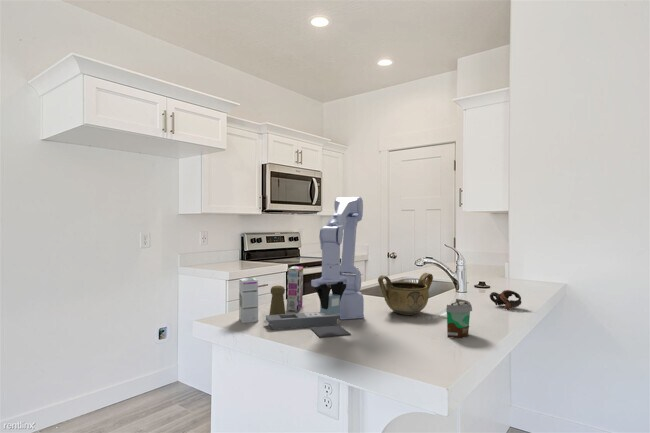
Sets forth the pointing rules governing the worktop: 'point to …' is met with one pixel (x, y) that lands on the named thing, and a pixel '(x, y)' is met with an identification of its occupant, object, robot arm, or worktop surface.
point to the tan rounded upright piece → (277, 300)
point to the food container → (458, 318)
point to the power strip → (301, 320)
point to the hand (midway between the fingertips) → (330, 307)
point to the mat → (330, 331)
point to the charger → (332, 305)
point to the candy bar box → (294, 288)
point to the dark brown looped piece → (506, 299)
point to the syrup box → (248, 300)
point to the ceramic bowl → (406, 294)
